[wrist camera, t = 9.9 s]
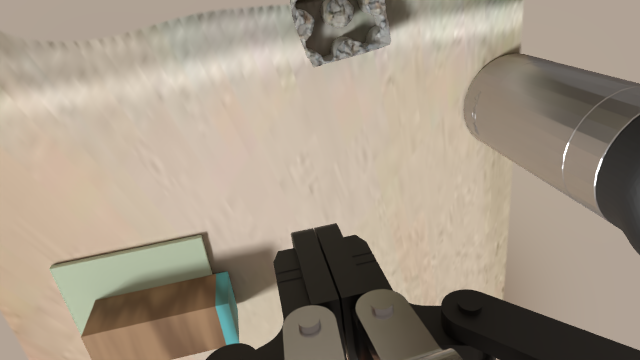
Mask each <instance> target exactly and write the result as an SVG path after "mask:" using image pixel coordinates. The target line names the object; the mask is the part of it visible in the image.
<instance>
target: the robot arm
mask: <svg viewBox="0 0 640 360" xmlns="http://www.w3.org/2000/svg"><path fill="white" fill-rule="evenodd" d="M464 117H465V121H466V124H467V127H468V129H469V130H470V132H471V134H473V135H474V136H475V137H476V138H477V139H478V140H480V141H481V142H483V143H484V144H486V145H488V146H489V147H491V148H492V149H494V150H496V151H497V152H498V153H500V154H502V155H503V156H505V157H506V158H508V159H510V160H511V161H513V162H514V163H516V164H518V165H519V166H521V167H522V168H524V169H526V170H527V171H529V172H530V173H532V174H534V175H535V176H537V177H538V178H540V179H541V180H543V181H545V182H546V183H548V184H549V185H551V186H553V187H554V188H556V189H557V190H559V191H560V192H562V193H564V194H565V195H567V196H569V197H570V198H572V199H573V200H575V201H576V202H578V203H580V204H582V205H583V206H585V207H586V208H588V209H589V210H591V211H592V212H594V213H596V214H597V215H599V216H600V217H602V218H604V219H605V220H607V221H608V222H610V223H612V224H613V225H615V226H616V227H618V228H619V229H621V230H622V231H623V232H624V234H625V235H626V237H627V239H628V240H629V242H630V244H631V245H632V246H633V248H634V249H635V250H636V251H637V253H638V254H639V255H640V84H639V83H635V82H631V81H627V80H623V79H619V78H615V77H611V76H607V75H603V74H599V73H596V72H592V71H588V70H584V69H580V68H576V67H572V66H568V65H564V64H560V63H556V62H553V61H549V60H545V59H541V58H537V57H533V56H529V55H525V54H509V55H504V56H502V57H499V58H497V59H495V60H493V61H492V62H490V63H489V64H487V65H486V66H485V67H484V68H483V69H482V70H481V71H480V72H479V73H478V74H477V76H476V77H475V78H474V80H473V81H472V83H471V85H470V87H469V89H468V92H467V95H466V98H465V104H464ZM291 237H292V243H293V248H292V249H288V250H283V251H278V253H277V255H276V258H275V260H274V262H273V263H274V268H275V274H276V279H277V285H278V290H279V296H280V301H281V306H282V312H283V318H284V322H283V326H282V329H281V330H280V332H279V333H278V335H277V336H276V337H275V338H274V339H273V340H271V341H270V342H269V343H267V344H265V345H264V346H262V347H260V348H258V349H256V350H255V349H254V348H253V347H251V346H249V345H247V344H242V343H234V344H229V345H226V346H223V347H221V348H219V349H217V350H216V351H214V352H213V353H212V354H211V355H210V356H209V357H208V358H207V359H206V360H347V357H348V360H496V358H497V359H499V360H640V351H639V350H637V349H634V348H632V347H629V346H626V345H623V344H620V343H617V342H615V341H612V340H610V339H607V338H604V337H601V336H599V335H596V334H593V333H591V332H588V331H585V330H582V329H580V328H577V327H574V326H571V325H569V324H566V323H563V322H561V321H558V320H555V319H552V318H550V317H547V316H544V315H542V314H539V313H536V312H533V311H531V310H528V309H525V308H522V307H520V306H517V305H514V304H511V303H509V302H506V301H503V300H501V299H498V298H495V297H493V296H490V295H487V294H484V293H482V292H478V291H475V290H457V291H454V292H451V293H449V294H448V295H446V296H445V297H444V299H443V301H442V304H441V306H421V305H414V304H411V303H408V301H407V300H406V299H405V298H404V296H402V295H401V294H399V293H398V292H395V291H393V290H392V288H391V286H390V284H389V282H388V281H387V279H386V277H385V275H384V273H383V271H382V270H381V268H380V266H379V264H378V262H376V259H375V257H374V255H373V254H372V251H371V250H370V248H369V246H368V244H367V242H366V241H364V240H363V239H361V238H360V237H358V236H356V235H352V236H347V237H343V236H342V234H341V231H340V229H339V227H338V225H337V224H336V223H335V224H330V225H326V226H321V227H316V228H314V229H313V228H312V229H307V230H303V231H298V232H293V233H291ZM346 354H347V357H346Z"/></svg>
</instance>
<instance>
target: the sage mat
mask: <svg viewBox="0 0 640 360" xmlns="http://www.w3.org/2000/svg"><path fill="white" fill-rule="evenodd" d="M50 271H51V273H52V276H53V278H54V280H55V282H56V284H57V286H58V288H59V290H60V292H61V294H62V297H63V299H64V301H65V303H66V305H67V307H68V309H69V311H70V313H71V315H72V317H73V320H74V322H75V324H76V326H77V328H78V330H79V332H80V334H81V336H82V333H83V330H84V328H85V325H86V323H87V320H88V318H89V315H90V313H91V310H92V307H93V305H94V302H95V300H98V299H103V298H108V297H112V296H117V295H121V294H126V293H130V292H135V291H140V290H144V289H149V288H153V287H158V286H163V285H167V284H172V283H176V282H181V281H185V280H190V279H195V278H199V277H204V276H208V275H213V274H212V270H211V267H210V263H209V260H208V256H207V253H206V249H205V245H204V242H203V238H202V235H197V236H192V237H187V238H182V239H177V240H172V241H168V242H163V243H158V244H153V245H148V246H143V247H139V248H134V249H129V250H124V251H119V252H114V253H109V254H105V255H100V256H95V257H90V258H85V259H80V260H75V261H71V262H66V263H61V264H56V265H52V266H51V267H50Z"/></svg>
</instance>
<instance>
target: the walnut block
mask: <svg viewBox="0 0 640 360" xmlns="http://www.w3.org/2000/svg"><path fill="white" fill-rule="evenodd" d="M81 338H82V340H83V342H84V345H85V347H86V349H87V351H88V353H89V355H90V357H91V359H92V360H172V359H176V358H180V357H184V356H188V355H193V354H197V353H201V352H205V351H209V350H213V349H218V348H221V347H223V346H226V345H229V344H234V343H239V328H238V309H237V305H236V301H235V297H234V293H233V289H232V286H231V282H230V278H229V274H228V271H227V272H222V273H217V274H213V275H208V276H204V277H199V278H195V279H190V280H185V281H181V282H176V283H172V284H167V285H163V286H158V287H153V288H149V289H144V290H140V291H135V292H130V293H126V294H121V295H117V296H112V297H108V298H103V299H98V300H95V302H94V305H93V307H92V310H91V313H90V315H89V318H88V320H87V323H86V325H85V328H84V330H83V333H82V336H81Z"/></svg>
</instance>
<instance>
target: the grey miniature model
mask: <svg viewBox="0 0 640 360" xmlns="http://www.w3.org/2000/svg"><path fill="white" fill-rule="evenodd" d="M314 1H320V0H290V4H291V10H292V16H293V20H294V23H295V26H296V29H297V32H298V34H299V37H300V40H301V42H302V45H303V47H304V49H305V53H306V56H307V58H309V59H310V61H311V63H312V66H313V67H317V66H320V65H323V64H326V63H330V62H335V61H338V60H341V59H345V58H349V57H352V56H356V55H359V54H363V53H366V52H369V51H372V50H376V49H379V48H382V47H384V46H387V45H389V44H390V43H391V38H390V31H389V23H388V19H387V14H386V4H385V0H358V5H359V8H360V9H361V10H362V11H363V12H365V13H368V14H371V15H374V17H375V22H376V25H375V26H374V27H372V28H371V29H370V30H369V31H368V33H367V36H366V42H365V43H361V42H359V41H355V40H353V39H351V38H349V37H343V36H342V37H338V38H337V39H335V40H334V41H333V43H332V45H331V48H330V55H327V56H324V57H322V56H321V55H320V54H319V53H317V52H316V51H314V50H313V49H310V48H307V47H306V43H305V41H307V39H308V38H309V37H310V35H311V34H312V32H313V27H314V22H315V20H314V18H313V16H311V15H310V14H309V13H308V12H307V11H304V10H302V9H298V8H296V7H295V4H300V3H309V2H314ZM320 14H321V17H322V19H323V21H324V22H325V23H326V24H328V25H331V26H333V27H336V28H340V27H344V26H347V24H348V23H349V22H350V21H351V19H352V17H353V14H354V7H353V5H352V4H351V3H350V2H349V1H348V0H324V1H323V3H322V5H321V9H320Z"/></svg>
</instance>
